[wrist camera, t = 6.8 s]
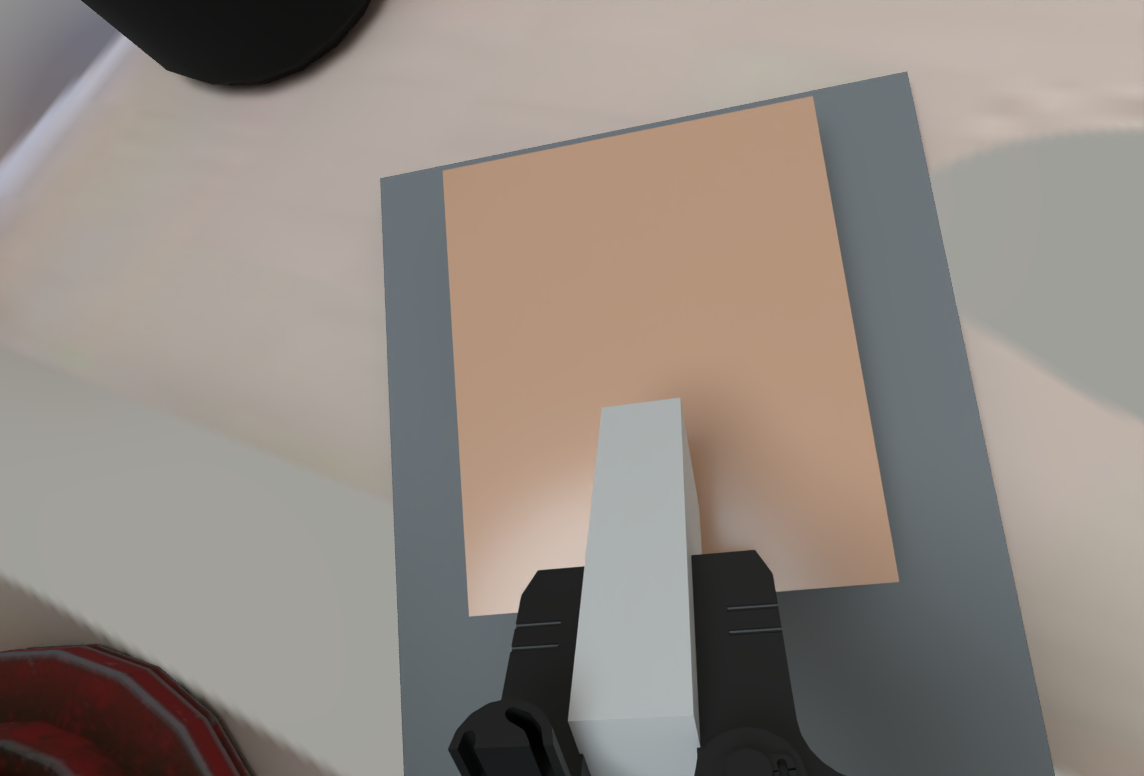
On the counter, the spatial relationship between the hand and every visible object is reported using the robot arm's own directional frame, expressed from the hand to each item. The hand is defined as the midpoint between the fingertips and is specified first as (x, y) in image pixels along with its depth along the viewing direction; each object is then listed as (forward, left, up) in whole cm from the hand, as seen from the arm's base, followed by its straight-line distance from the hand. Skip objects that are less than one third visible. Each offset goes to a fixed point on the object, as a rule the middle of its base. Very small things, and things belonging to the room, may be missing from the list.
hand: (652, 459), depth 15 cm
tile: (+3, -1, -5) cm, 5 cm away
